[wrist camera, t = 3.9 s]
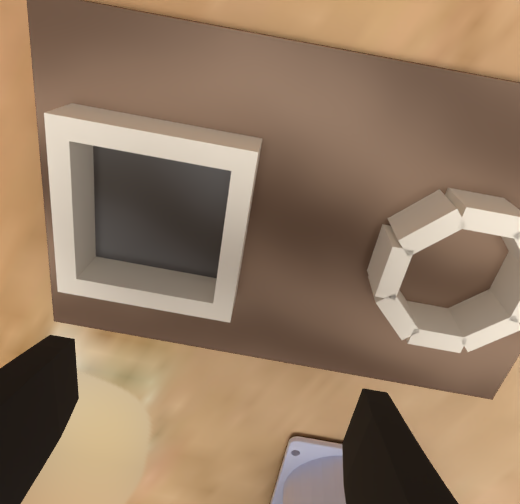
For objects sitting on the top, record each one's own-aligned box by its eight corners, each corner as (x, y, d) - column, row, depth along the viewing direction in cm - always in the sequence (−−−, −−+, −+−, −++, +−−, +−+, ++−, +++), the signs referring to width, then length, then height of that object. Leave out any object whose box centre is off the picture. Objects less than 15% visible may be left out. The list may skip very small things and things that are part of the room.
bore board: (484, 384, 22) (510, 433, 19) (63, 309, 22) (31, 348, 19) (645, 106, 15) (718, 122, 13) (41, -8, 15) (-13, -16, 12)
